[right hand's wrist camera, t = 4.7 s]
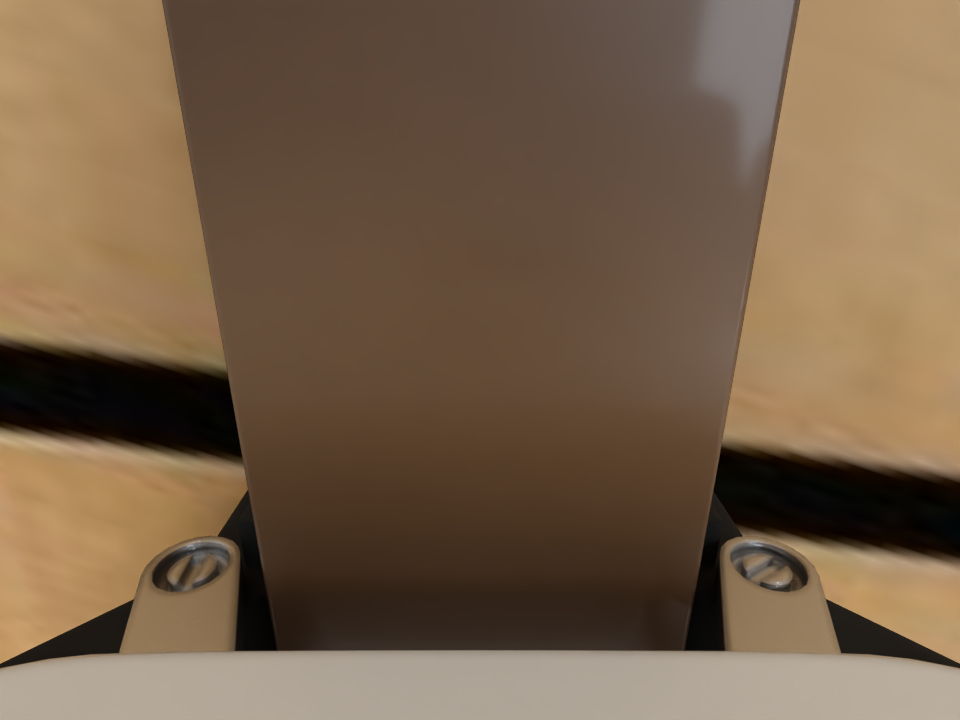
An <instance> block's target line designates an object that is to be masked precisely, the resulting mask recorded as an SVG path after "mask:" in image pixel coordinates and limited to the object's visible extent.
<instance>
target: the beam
mask: <svg viewBox="0 0 960 720" xmlns="http://www.w3.org/2000/svg"><path fill="white" fill-rule="evenodd" d="M162 2H163V8H164V14H165V19H166V25H167V31H168V36H169V42H170V48H171V53H172V59H173V65H174V70H175V76H176V82H177V87H178V93H179V99H180V105H181V110H182V116H183V122H184V127H185V133H186V139H187V144H188V150H189V156H190V161H191V167H192V173H193V178H194V184H195V190H196V195H197V201H198V207H199V212H200V218H201V224H202V229H203V235H204V241H205V246H206V252H207V258H208V264H209V269H210V275H211V281H212V286H213V292H214V298H215V303H216V309H217V315H218V320H219V326H220V332H221V337H222V343H223V349H224V354H225V360H226V366H227V371H228V377H229V383H230V388H231V394H232V400H233V406H234V411H235V417H236V423H237V428H238V434H239V440H240V445H241V451H242V457H243V462H244V468H245V474H246V479H247V485H248V491H249V496H250V502H251V508H252V513H253V519H254V525H255V530H256V536H257V542H258V547H259V553H260V559H261V565H262V570H263V576H264V582H265V587H266V593H267V599H268V604H269V610H270V616H271V621H272V627H273V633H274V638H275V644H276V650H277V651H415V650H595V651H685V647H686V641H687V635H688V630H689V624H690V618H691V613H692V607H693V602H694V596H695V590H696V585H697V579H698V573H699V568H700V562H701V556H702V551H703V545H704V540H705V534H706V528H707V523H708V517H709V511H710V506H711V500H712V494H713V489H714V483H715V478H716V472H717V466H718V461H719V455H720V449H721V444H722V438H723V432H724V427H725V421H726V416H727V410H728V404H729V399H730V393H731V387H732V382H733V376H734V370H735V365H736V359H737V353H738V348H739V342H740V337H741V331H742V325H743V320H744V314H745V308H746V303H747V297H748V291H749V286H750V280H751V275H752V269H753V263H754V258H755V252H756V246H757V241H758V235H759V229H760V224H761V218H762V213H763V207H764V201H765V196H766V190H767V184H768V179H769V173H770V167H771V162H772V156H773V151H774V145H775V139H776V134H777V128H778V122H779V117H780V111H781V105H782V100H783V94H784V89H785V83H786V77H787V72H788V66H789V60H790V55H791V49H792V43H793V38H794V32H795V26H796V21H797V15H798V10H799V4H800V0H162Z"/></svg>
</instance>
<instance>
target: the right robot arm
mask: <svg viewBox="0 0 960 720" xmlns="http://www.w3.org/2000/svg"><path fill="white" fill-rule="evenodd" d="M0 720H960V664H959V663H957V662H955V661H953V660H951V659H949V658H947V657H945V656H943V655H940V654H938V653H936V652H934V651H932V650H930V649H928V648H926V647H924V646H922V645H920V644H918V643H916V642H914V641H912V640H910V639H907V638H905V637H903V636H901V635H899V634H897V633H895V632H893V631H891V630H889V629H887V628H885V627H883V626H881V625H879V624H876V623H874V622H872V621H870V620H868V619H866V618H864V617H862V616H860V615H858V614H856V613H854V612H852V611H850V610H848V609H846V608H843V607H841V606H839V605H837V604H835V603H833V602H831V601H829V600H827V599H826V598H825V595H824V591H823V588H822V584H821V581H820V577H819V575H818V573H817V571H816V569H815V567H814V566H813V565H812V564H811V563H810V562H809V561H808V560H807V559H806V558H805V557H804V556H803V555H802V554H800V553H799V552H797V551H796V550H794V549H793V548H791V547H789V546H786V545H784V544H782V543H780V542H778V541H774V540H770V539H767V538H763V537H755V536H742V534H741V533H740V531H739V530H738V528H737V527H736V525H735V524H734V522H733V521H732V519H731V518H730V516H729V514H728V513H727V511H726V510H725V508H724V507H723V505H722V504H721V502H720V501H719V499H718V498H717V496H716V495H715V493H714V492H713V494H712V500H711V506H710V511H709V517H708V523H707V528H706V534H705V540H704V545H703V551H702V556H701V562H700V568H699V573H698V579H697V585H696V590H695V596H694V602H693V607H692V613H691V618H690V624H689V630H688V635H687V641H686V647H685V651H595V650H415V651H277V650H276V644H275V638H274V633H273V627H272V621H271V616H270V610H269V604H268V599H267V593H266V587H265V582H264V576H263V570H262V565H261V559H260V553H259V547H258V542H257V536H256V530H255V525H254V519H253V513H252V508H251V502H250V496H249V491H247V492H246V494H245V495H244V497H243V498H242V500H241V501H240V503H239V504H238V506H237V507H236V509H235V510H234V512H233V513H232V515H231V517H230V518H229V520H228V521H227V523H226V524H225V526H224V527H223V529H222V530H221V532H220V533H219V535H218V536H205V537H197V538H193V539H190V540H186V541H182V542H180V543H178V544H176V545H174V546H171V547H169V548H167V549H166V550H164V551H163V552H161V553H160V554H158V555H157V556H156V557H155V558H154V559H153V560H152V561H151V562H150V563H149V564H148V565H147V566H146V567H145V569H144V571H143V573H142V575H141V577H140V581H139V584H138V588H137V591H136V595H135V598H134V599H133V600H131V601H129V602H127V603H125V604H123V605H121V606H119V607H117V608H115V609H113V610H111V611H109V612H107V613H104V614H102V615H100V616H98V617H96V618H94V619H92V620H90V621H88V622H86V623H84V624H82V625H80V626H78V627H76V628H73V629H71V630H69V631H67V632H65V633H63V634H61V635H59V636H57V637H55V638H53V639H51V640H49V641H47V642H45V643H42V644H40V645H38V646H36V647H34V648H32V649H30V650H28V651H26V652H24V653H22V654H20V655H18V656H16V657H14V658H11V659H9V660H7V661H5V662H3V663H1V664H0Z"/></svg>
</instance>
